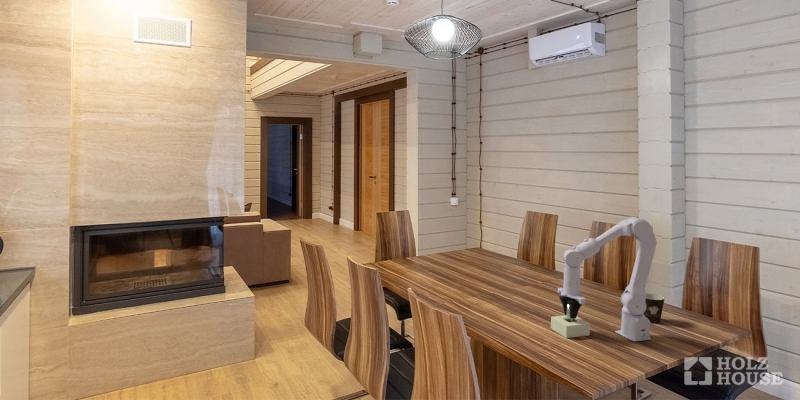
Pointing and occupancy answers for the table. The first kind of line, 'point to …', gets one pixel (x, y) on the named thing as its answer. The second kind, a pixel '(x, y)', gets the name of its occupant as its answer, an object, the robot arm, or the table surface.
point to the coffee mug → (654, 307)
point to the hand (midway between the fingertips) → (570, 316)
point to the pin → (569, 315)
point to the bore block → (570, 326)
